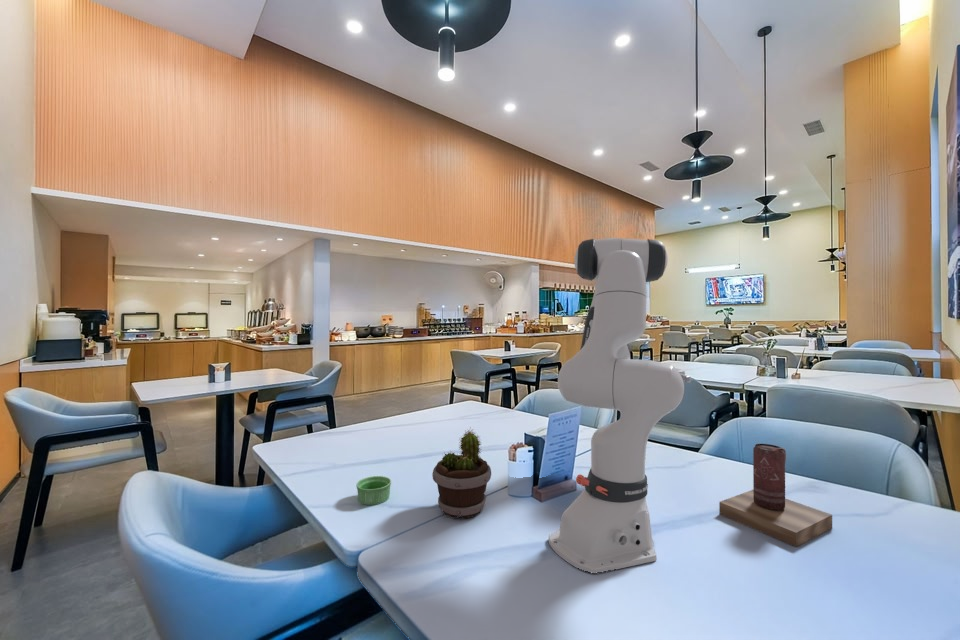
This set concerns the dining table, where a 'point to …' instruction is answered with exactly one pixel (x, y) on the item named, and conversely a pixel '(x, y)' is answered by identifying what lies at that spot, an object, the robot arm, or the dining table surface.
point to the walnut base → (777, 518)
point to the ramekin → (373, 490)
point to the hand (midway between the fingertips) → (678, 380)
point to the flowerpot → (462, 479)
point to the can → (769, 476)
